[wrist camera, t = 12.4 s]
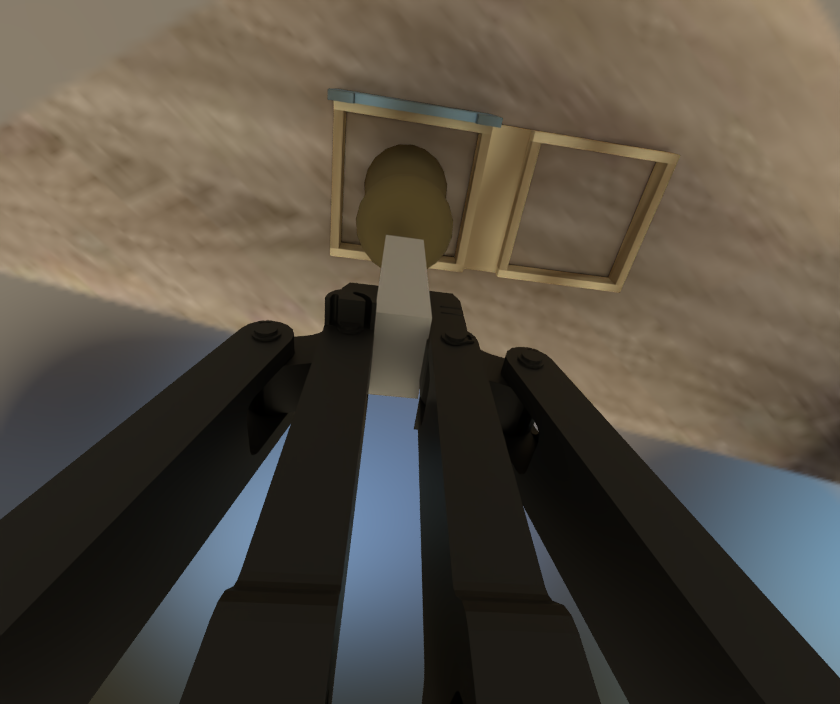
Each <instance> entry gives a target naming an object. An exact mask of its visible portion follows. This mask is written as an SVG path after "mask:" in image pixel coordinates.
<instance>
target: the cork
mask: <svg viewBox="0 0 840 704" xmlns="http://www.w3.org/2000/svg"><path fill="white" fill-rule="evenodd" d="M364 183H365V196H364V198H363V200H362V201H361V203H360V206H359V210H358V214H357V217H356V226H357V236H358V238H359V241H360V243H361V246H362V249H363V250H364V252H365V253H366V254H367V256H368V257H369V258H370V259H371V261H372V262H373V263H375V264H376V265H378V266H379V267H381V266H382V259H383V252H384V245H385V238H386V235H391V236H398V237H406V238H413V239H421V240H424V248H425V257H426V267H427V269H428V268H429V267H431V266H432V265H434V264H435V263H437V261H438V260H439V259H440V258H441V257H442V255H443V254H444V253H445V251H446V250H447V247H448V245H449V242H450V240H451V237H452V228H453V219H452V215H451V211H450V207H449V204H448V202H447V200H446V191H447V183H446V179H445V175H444V171H443V169H442V167H441V166H440V164H439V163H438V161H437V159H436V158H435V157H433V156H432V155H431V154H430V153H429V152H428V151H426V150H425V149H422V148H420V147H417V146H414V145H396V146H393V147H390V148H388V149H386V150H384V151H383V152H382V153H380V154H379V155H378V156H377V157H375V159H374V161H373V162H372V164H371V165H370V167H369V168H368V171H367V175H366V179H365V182H364Z"/></svg>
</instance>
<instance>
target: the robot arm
mask: <svg viewBox="0 0 840 704" xmlns="http://www.w3.org/2000/svg"><path fill="white" fill-rule="evenodd" d="M419 388H420V398H419V404H418V409H417V415H416V420H415V426H414V429H417V430H418V446H419V447H418V448H419V486H420V523H421V558H422V594H423V630H424V631H423V632H424V688H423V696H422V704H601V702H600V699H599V696H598V693H597V690H596V686H595V683H594V680H593V677H592V674H591V670H590V667H589V664H588V661H587V658H586V654H585V651H584V648H583V645H582V642H581V638H580V635H579V632H578V630H577V627H576V625H575V623H574V620H573V618H572V616H571V614H570V613H569V611H568V610H567V609H566V608H565V606H564V605H562V604H559V603H557V602H554V601H552V600H551V598H550V597H549V596H548V593H547V591H546V588H545V585H544V581H543V578H542V574H541V570H540V566H539V563H538V559H537V555H536V552H535V548H534V544H533V541H532V537H531V534H530V530H529V527H528V523H527V519H526V515H525V512H524V508H525V510H526V512H527V514H528V516H529V518H530V519H531V521H532V523H533V525H534V527H535V529H536V530H537V533H538V534H539V536H540V538H541V540H542V542H543V544H544V546H545V547H546V549H547V551H548V553H549V555H550V556H551V558H552V560H553V562H554V564H555V566H556V568H557V570H558V572H559V573H560V575H561V577H562V579H563V581H564V583H565V584H566V586H567V588H568V590H569V592H570V594H571V596H572V598H573V599H574V601H575V603H576V605H577V607H578V609H579V611H580V612H581V614H582V616H583V618H584V620H585V622H586V624H587V625H588V627H589V629H590V631H591V633H592V635H593V637H594V639H595V640H596V642H597V644H598V646H599V648H600V650H601V652H602V653H603V655H604V657H605V659H606V661H607V663H608V665H609V666H610V668H611V670H612V672H613V674H614V676H615V677H616V679H617V681H618V683H619V685H620V687H621V689H622V691H623V692H624V694H625V696H626V698H627V700H628V702H629V704H840V678H839V677H838V676H837V674H836V673H835V672H834V671H833V670H832V669H831V668H830V667H829V666H828V664H827V663H826V662H825V661H824V660H823V659H822V658H821V657H820V656H819V655H818V653H817V652H816V651H815V650H814V649H813V648H812V647H811V646H810V645H809V644H808V642H807V641H806V640H805V639H804V638H803V637H802V636H801V635H800V634H799V633H798V631H797V630H796V629H795V628H794V627H793V626H792V625H791V624H790V622H789V621H788V620H787V619H786V618H785V617H784V616H783V615H782V614H781V612H780V611H779V610H778V609H777V608H776V607H775V606H774V605H773V604H772V603H771V601H770V600H769V599H768V598H767V597H766V596H765V595H764V594H763V593H762V591H761V590H760V589H759V588H758V587H757V586H756V585H755V584H754V583H753V582H752V580H751V579H750V578H749V577H748V576H747V575H746V574H745V573H744V572H743V570H742V569H741V568H740V567H739V566H738V565H737V564H736V563H735V562H734V561H733V559H732V558H731V557H730V556H729V555H728V554H727V553H726V552H725V551H724V550H723V548H722V547H721V546H720V545H719V544H718V543H717V542H716V541H715V540H714V538H713V537H712V536H711V535H710V534H709V533H708V532H707V531H706V530H705V528H704V527H703V526H702V525H701V524H700V523H699V522H698V521H697V520H696V518H695V517H694V516H693V515H692V514H691V513H690V512H689V511H688V510H687V508H686V507H685V506H684V505H683V504H682V503H681V502H680V501H679V500H678V499H677V498H676V497H675V495H674V494H673V493H672V492H671V491H670V490H669V489H668V487H667V486H666V485H665V484H664V483H663V482H662V481H661V480H660V479H659V477H658V476H657V475H656V474H655V473H654V472H653V471H652V470H651V469H650V468H649V466H648V465H647V464H646V463H645V462H644V461H643V460H642V459H641V458H640V456H638V454H637V453H636V452H635V451H634V450H633V449H632V448H631V447H630V446H629V444H628V443H627V442H626V441H625V440H624V439H623V438H622V437H621V435H619V433H618V432H617V431H616V430H615V429H614V428H613V427H612V425H611V424H610V423H609V422H608V421H607V420H606V419H605V418H604V417H603V416H602V414H601V413H600V412H599V411H598V410H597V409H596V408H595V407H594V406H593V404H592V403H591V402H590V401H589V400H588V399H587V398H586V397H585V396H584V395H583V393H582V392H581V391H580V390H579V389H578V388H577V387H576V386H575V385H574V383H573V382H572V381H571V380H570V379H569V378H568V377H567V376H566V375H565V373H564V372H563V371H562V370H561V369H560V368H559V367H558V366H557V365H556V364H555V362H554V361H553V360H552V359H551V358H549V357H548V356H547V355H546V354H544V353H542V352H540V351H538V350H536V349H532V348H528V347H516V348H511V349H510V350H508V351H507V353H506V357H505V358H502V357H498V356H495V355H492V354H489V353H486V352H484V351H482V350H480V347H479V343H478V341H477V339H476V337H475V336H473V335H472V334H471V333H469V332H468V331H467V327H466V323H465V319H464V316H463V311H462V307H461V303H460V301H459V300H458V299H457V298H456V297H455V296H454V295H453V294H450V293H442V292H434V291H429V285H428V276H427V267H426V257H425V248H424V240H421V239H413V238H406V237H398V236H391V235H386V238H385V245H384V252H383V259H382V266H381V273H380V280H379V286H375V285H367V284H358V283H349V284H347V285H346V286H344V287H343V288H342V289H340V290H335V291H332V292H330V293H328V294H327V296H326V297H325V325H324V328H323V331H322V332H320V333H318V334H314V335H308V336H298V337H294V332H293V329H292V328H290V327H289V326H288V325H286V324H283V323H281V322H275V321H269V320H266V321H258V322H254V323H250V324H248V325H246V326H244V327H242V328H241V329H240V330H238V331H237V332H236V333H235V334H233V335H232V336H231V337H230V338H228V339H227V340H226V341H225V342H223V343H222V344H221V345H220V346H218V347H217V348H216V349H215V350H213V351H212V352H211V353H209V354H208V355H207V356H206V357H205V358H203V359H202V360H201V361H200V362H198V363H197V364H196V365H194V366H193V367H192V368H191V369H189V370H188V371H187V372H186V373H184V374H183V375H182V376H181V377H179V378H178V379H177V380H176V381H175V382H173V383H172V384H170V385H169V386H168V387H167V388H166V389H164V390H163V391H162V392H160V393H159V394H158V395H157V396H155V397H154V398H153V399H152V400H150V401H149V402H148V403H147V404H145V405H144V406H143V407H142V408H140V409H139V410H138V411H136V412H135V413H134V414H133V415H131V416H130V417H129V418H128V419H127V420H125V421H124V422H123V423H121V424H120V425H119V426H118V427H116V428H115V429H114V430H113V431H111V432H110V433H109V434H108V435H106V436H105V437H104V438H102V439H101V440H100V441H99V442H98V443H96V444H95V445H94V446H92V447H91V448H90V449H89V450H88V451H86V452H85V453H84V454H82V455H81V456H80V457H79V458H77V459H76V460H75V461H74V462H72V463H71V464H70V465H69V466H68V467H66V468H65V469H63V470H62V471H61V472H60V473H58V474H57V475H56V476H55V477H53V478H52V479H51V480H50V481H48V482H47V483H46V484H45V485H43V486H42V487H41V488H40V489H38V490H37V491H36V492H35V493H33V494H32V495H31V496H29V497H28V498H27V499H26V500H24V501H23V502H22V503H21V504H19V505H18V506H17V507H16V508H15V509H13V510H12V511H11V512H9V513H8V514H7V515H6V516H4V517H3V518H2V519H1V520H0V704H88V703H89V701H90V700H91V698H92V697H93V696H94V695H95V693H96V692H97V690H98V689H99V688H100V686H101V685H102V683H103V682H104V681H105V679H106V678H107V677H108V675H109V674H110V672H111V671H112V670H113V668H114V667H115V666H116V664H117V663H118V661H119V660H120V658H121V657H122V656H123V654H124V653H125V652H126V650H127V649H128V648H129V646H130V645H131V643H132V642H133V641H134V639H135V638H136V637H137V635H138V634H139V632H140V631H141V630H142V628H143V627H144V626H145V624H146V623H147V621H148V620H149V618H150V617H151V616H152V614H153V613H154V612H155V610H156V609H157V607H158V606H159V605H160V603H161V602H162V601H163V599H164V598H165V597H166V595H167V594H168V592H169V591H170V590H171V588H172V587H173V585H174V584H175V583H176V581H177V580H178V579H179V577H180V576H181V574H182V573H183V572H184V570H185V569H186V567H187V566H188V565H189V563H190V562H191V561H192V559H193V558H194V556H195V555H196V554H197V552H198V551H199V550H200V548H201V547H202V545H203V544H204V543H205V541H206V540H207V539H208V537H209V535H210V534H211V533H212V531H213V530H214V529H215V528H216V526H217V525H218V523H219V522H220V521H221V519H222V518H223V517H224V515H225V514H226V512H227V511H228V510H229V508H230V507H231V505H232V504H233V503H234V501H235V500H236V499H237V497H238V496H239V494H240V493H241V492H242V490H243V489H244V488H245V486H246V485H247V483H248V482H249V481H250V479H251V478H252V476H253V475H254V474H255V472H256V471H257V470H258V468H259V467H260V465H261V464H262V463H263V461H264V460H265V459H266V457H267V456H268V454H269V453H270V451H271V450H272V449H273V448H274V446H275V445H276V443H277V442H278V441H279V439H280V438H281V436H282V435H283V434H284V432H285V431H286V430H287V428H288V427H289V425H290V424H291V426H290V428H289V431H288V434H287V437H286V440H285V443H284V446H283V449H282V452H281V455H280V458H279V461H278V464H277V467H276V470H275V472H274V475H273V478H272V481H271V484H270V487H269V490H268V493H267V496H266V499H265V502H264V505H263V508H262V511H261V514H260V517H259V520H258V523H257V525H256V528H255V531H254V534H253V537H252V540H251V543H250V546H249V549H248V552H247V555H246V558H245V561H244V564H243V567H242V570H241V572H240V575H239V577H238V580H237V582H236V583H235V585H234V586H233V587H231V588H229V589H227V590H225V591H224V593H223V594H222V596H221V598H220V599H219V601H218V602H217V605H216V607H215V609H214V612H213V614H212V617H211V619H210V621H209V624H208V627H207V629H206V632H205V635H204V638H203V641H202V643H201V646H200V649H199V652H198V654H197V657H196V660H195V662H194V665H193V668H192V670H191V673H190V676H189V679H188V681H187V684H186V687H185V689H184V692H183V695H182V698H181V700H180V703H179V704H332V695H333V686H334V676H335V668H336V659H337V651H338V643H339V634H340V625H341V618H342V610H343V601H344V593H345V585H346V577H347V568H348V560H349V552H350V543H351V535H352V527H353V519H354V511H355V501H356V493H357V485H358V477H359V469H360V461H361V453H362V444H363V436H364V428H365V420H366V410H367V403H368V394H373V395H385V396H396V397H406V398H418V394H419ZM534 422H535V423H536V425H537V427H538V431H539V432H538V431H537V430H536V428H535V427H534ZM523 506H524V508H523Z"/></svg>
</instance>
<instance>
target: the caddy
mask: <svg viewBox="0 0 840 704" xmlns="http://www.w3.org/2000/svg"><path fill="white" fill-rule="evenodd" d="M328 100H334V121H333V160H332V199H331V239H330V256H338V257H346V258H353V259H361V260H369V261H371V259H370V258H369V257H368V256H367V254H366V253H365V252H364V250H363V249H362V246H361V245H356V244H349V243H341V234H342V209H343V184H344V158H345V133H346V111H348V112H354V113H360V114H366V115H373V116H379V117H385V118H391V119H397V120H403V121H410V122H416V123H422V124H428V125H434V126H440V127H447V128H453V129H459V130H465V131H471V132H477V133H479V135H478V140H477V145H476V150H475V155H474V160H473V165H472V170H471V175H470V181H469V186H468V191H467V196H466V201H465V206H464V211H463V216H462V222H461V227H460V232H459V237H458V242H457V247H456V252H455V257H448V256H442V257H441V258H440V259H439V260H438V261H437V263H435V264H434V265H432V266H431V267H429V268H432V269H439V270H447V271H455V272H463V268H464V269H471V270H479V271H487V272H495V273H496V275H497V277H502V278H510V279H517V280H525V281H533V282H541V283H549V284H556V285H564V286H572V287H580V288H588V289H595V290H603V291H611V292H619V293H620V291H621V289H622V286H623V284H624V282H625V280H626V277H627V275H628V273H629V271H630V268H631V266H632V264H633V262H634V259H635V257H636V255H637V253H638V250H639V248H640V246H641V244H642V241H643V239H644V237H645V234H646V232H647V230H648V228H649V225H650V223H651V221H652V219H653V216H654V214H655V212H656V210H657V207H658V205H659V203H660V201H661V198H662V196H663V194H664V191H665V189H666V187H667V185H668V182H669V180H670V178H671V176H672V173H673V171H674V169H675V167H676V164H677V162H678V160H679V158H680V155H678V154H674V153H670V152H664V151H658V150H652V149H646V148H640V147H634V146H628V145H622V144H615V143H609V142H603V141H597V140H591V139H585V138H579V137H573V136H567V135H561V134H555V133H549V132H543V131H537V130H531V129H525V128H519V127H512V126H506V125H502V121H503V118H501V117H498V116H495V115H492V114H487V113H481V112H475V111H469V110H463V109H457V108H451V107H445V106H439V105H433V104H427V103H421V102H415V101H409V100H403V99H397V98H391V97H385V96H379V95H373V94H367V93H361V92H355V91H349V90H343V89H328ZM541 143H545V144H551V145H557V146H564V147H570V148H576V149H582V150H588V151H594V152H601V153H607V154H613V155H619V156H625V157H631V158H638V159H644V160H650V161H656V164H655V166H654V168H653V171H652V173H651V176H650V178H649V180H648V183H647V185H646V188H645V190H644V192H643V195H642V197H641V200H640V202H639V204H638V207H637V209H636V212H635V214H634V216H633V219H632V221H631V224H630V226H629V229H628V231H627V233H626V236H625V238H624V241H623V243H622V245H621V248H620V250H619V253H618V255H617V257H616V260H615V262H614V265H613V267H612V269H611V272H610V274H609V277H608V278H607V277H600V276H592V275H585V274H577V273H569V272H562V271H554V270H547V269H539V268H531V267H524V266H516V265H509V260H510V257H511V253H512V249H513V246H514V242H515V238H516V235H517V231H518V227H519V224H520V220H521V216H522V213H523V209H524V205H525V201H526V198H527V194H528V190H529V187H530V183H531V179H532V176H533V172H534V168H535V165H536V161H537V157H538V154H539V150H540V146H541Z"/></svg>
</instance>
